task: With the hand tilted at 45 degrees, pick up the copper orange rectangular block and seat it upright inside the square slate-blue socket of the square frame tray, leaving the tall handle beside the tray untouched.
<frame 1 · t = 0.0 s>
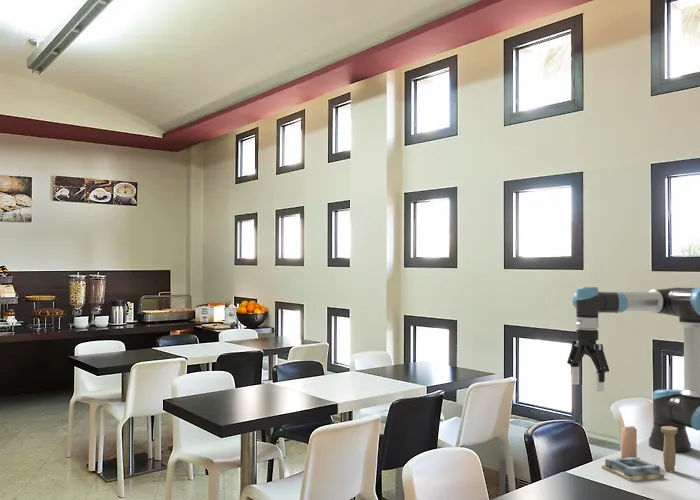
hand: (587, 387, 221), 28 cm above the table, tool pointing down, fingers open, 13 cm apart
copper orange rectangular block: (629, 461, 226), on the table
handle: (669, 471, 216), on the table
square frame tray: (632, 473, 212), on the table
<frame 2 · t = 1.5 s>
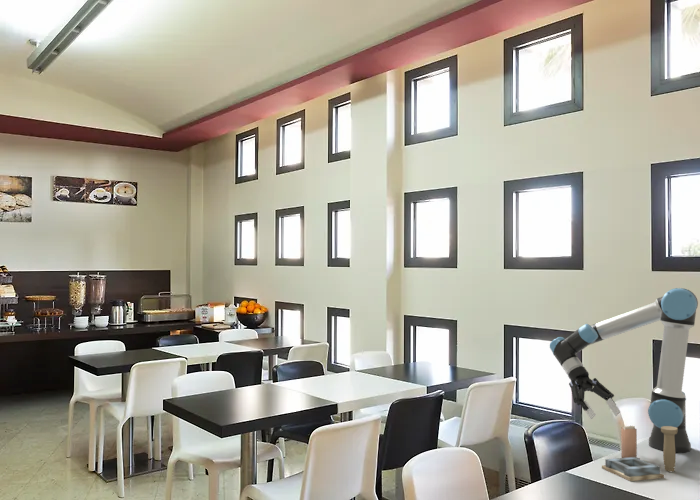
hand: (605, 415, 236), 15 cm above the table, tool tilted 45°, fingers open, 13 cm apart
nothing on the table moved.
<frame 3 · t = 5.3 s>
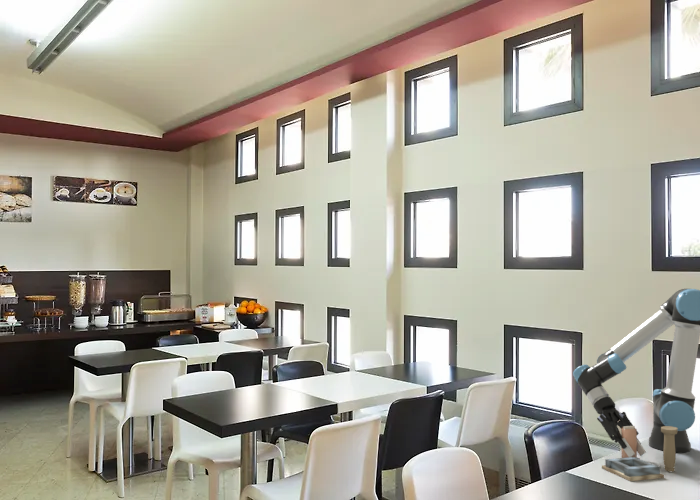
hand: (637, 454, 223), 3 cm above the table, tool tilted 45°, fingers closed on copper orange rectangular block, 5 cm apart
copper orange rectangular block: (629, 461, 226), on the table, touching gripper
everything else where it was.
when the fingers open (6 cm above the table, at t = 10.8 s): copper orange rectangular block drops 1 cm, resting on square frame tray.
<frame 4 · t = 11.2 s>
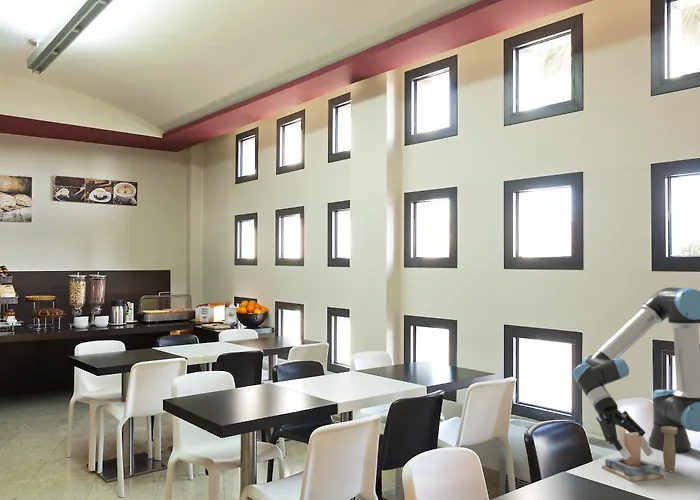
hand: (639, 456, 210), 7 cm above the table, tool tilted 45°, fingers open, 10 cm apart
copper orange rectangular block: (632, 469, 213), point 1 cm above the table, touching square frame tray
everything else where it was.
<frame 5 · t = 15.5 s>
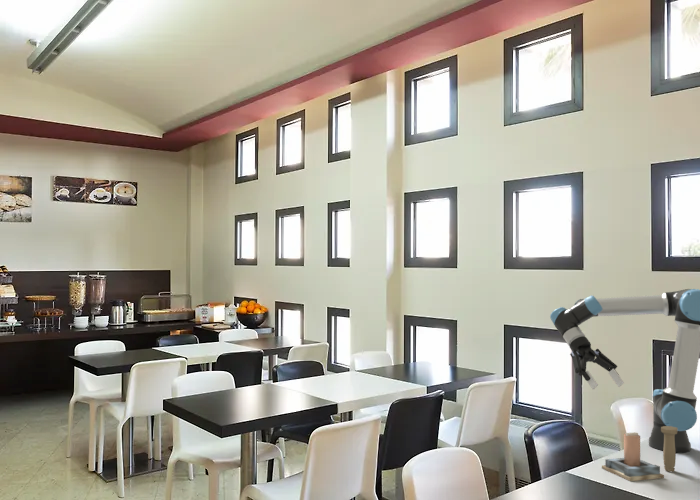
hand: (608, 386, 227), 28 cm above the table, tool tilted 45°, fingers open, 13 cm apart
nothing on the table moved.
at the end: copper orange rectangular block 0.1 cm off-centre on the square frame tray, point 1.0 cm above the square frame tray's base; copper orange rectangular block tilted 0°; the gripper is holding nothing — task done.
